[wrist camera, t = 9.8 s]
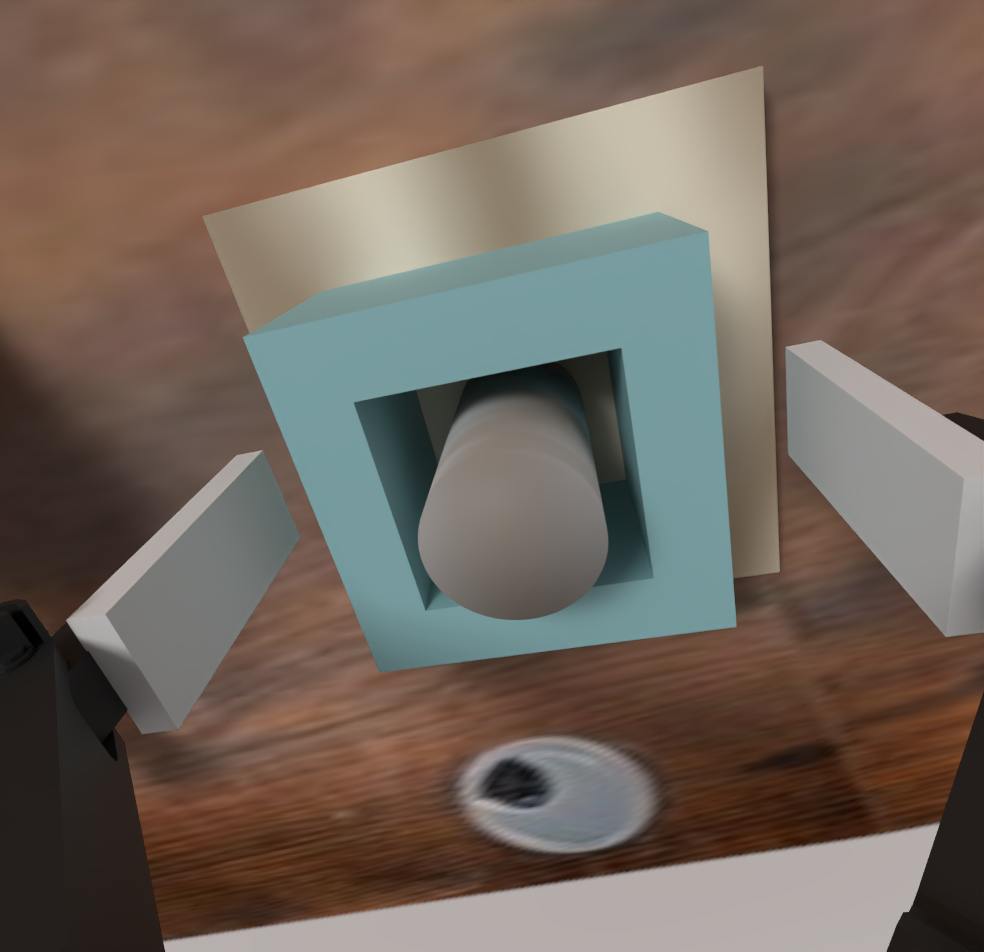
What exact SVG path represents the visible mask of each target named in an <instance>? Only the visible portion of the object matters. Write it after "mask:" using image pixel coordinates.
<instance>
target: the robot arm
mask: <svg viewBox="0 0 984 952" xmlns="http://www.w3.org/2000/svg"><path fill="white" fill-rule="evenodd" d="M785 348H786V390H787V432H788V455H789V456H790V457H791V458H792V459H793V461H794V462H795V463H796V464H797V465H798V466H799V468H800V469H801V470H802V471H803V472H804V473H805V474H806V476H807V477H808V478H809V479H810V480H811V481H812V483H813V484H814V485H815V486H816V487H817V488H818V490H819V491H820V492H821V493H822V494H823V495H824V496H825V498H826V499H827V500H828V501H829V502H830V503H831V505H832V506H833V507H834V508H835V509H836V510H837V512H838V513H839V514H840V515H841V516H842V517H843V518H844V520H845V521H846V522H847V523H848V524H849V525H850V527H851V528H852V529H853V530H854V531H855V532H856V533H857V535H858V536H859V537H860V538H861V539H862V540H863V542H864V543H865V544H866V545H867V546H868V547H869V549H870V550H871V551H872V552H873V553H874V554H875V555H876V557H877V558H878V559H879V560H880V561H881V562H882V564H883V565H884V566H885V567H886V568H887V569H888V571H889V572H890V573H891V574H892V575H893V576H894V577H895V579H896V580H897V581H898V582H899V583H900V584H901V586H902V587H903V588H904V589H905V590H906V591H907V593H908V594H909V595H910V596H911V597H912V598H913V599H914V601H915V602H916V603H917V604H918V605H919V606H920V608H921V609H922V610H923V611H924V612H925V613H926V614H927V616H928V617H929V618H930V619H931V620H932V621H933V623H934V624H935V625H936V626H937V627H938V628H939V630H940V631H941V632H942V633H943V634H944V635H945V636H946V637H950V636H958V635H967V634H975V633H983V632H984V420H983V419H980V418H976V417H972V416H969V415H965V414H961V413H958V412H956V413H951V414H945V415H941V414H939V413H937V412H936V411H934V410H933V409H931V408H929V407H928V406H926V405H925V404H923V403H921V402H920V401H918V400H917V399H915V398H913V397H912V396H910V395H908V394H907V393H905V392H904V391H902V390H900V389H899V388H897V387H896V386H894V385H892V384H891V383H889V382H888V381H886V380H884V379H883V378H881V377H879V376H878V375H876V374H875V373H873V372H871V371H870V370H868V369H867V368H865V367H863V366H862V365H860V364H859V363H857V362H855V361H854V360H852V359H850V358H849V357H847V356H846V355H844V354H842V353H841V352H839V351H838V350H836V349H834V348H833V347H831V346H830V345H828V344H826V343H825V342H823V341H821V340H819V341H814V342H809V343H804V344H799V345H793V346H788V347H785ZM299 539H300V535H299V533H298V531H297V528H296V526H295V524H294V521H293V519H292V517H291V514H290V512H289V510H288V507H287V505H286V503H285V500H284V498H283V496H282V493H281V491H280V489H279V487H278V484H277V482H276V480H275V477H274V475H273V473H272V470H271V468H270V466H269V463H268V461H267V459H266V456H265V454H264V452H263V450H261V451H256V452H251V453H246V454H241V455H236V456H235V457H234V458H233V459H232V460H231V461H230V462H229V463H228V464H227V465H226V466H225V467H224V468H223V469H222V470H221V471H220V472H219V473H218V474H217V475H216V476H215V477H214V478H213V479H212V480H211V481H210V482H209V483H207V484H206V485H205V486H204V487H203V488H202V489H201V490H200V491H199V492H198V493H197V494H196V495H195V496H194V497H193V498H192V499H191V500H190V501H189V502H188V503H187V504H186V505H185V506H184V507H183V508H182V509H181V510H180V511H179V512H177V513H176V514H175V515H174V516H173V517H172V518H171V519H170V520H169V521H168V522H167V523H166V524H165V525H164V526H163V527H162V528H161V529H160V530H159V531H158V532H157V533H156V534H155V535H154V536H153V537H152V538H151V539H150V540H149V541H147V542H146V543H145V544H144V545H143V546H142V547H141V548H140V549H139V550H138V551H137V552H136V553H135V554H134V555H133V556H132V557H131V558H130V559H129V560H128V561H127V562H126V563H125V564H124V565H123V566H122V567H121V568H120V569H119V570H118V571H116V572H115V573H114V574H113V575H112V576H111V577H110V578H109V579H108V580H107V581H106V582H105V583H104V584H103V585H102V586H101V587H100V588H99V589H98V590H97V591H96V592H95V593H94V594H93V595H92V596H91V597H90V598H89V599H88V600H86V601H85V602H84V603H83V604H82V605H81V606H80V607H79V608H78V609H77V610H76V611H75V612H74V613H73V614H72V615H71V616H70V617H69V618H68V619H67V620H66V622H67V623H66V624H65V625H63V626H62V627H61V628H60V629H59V630H58V631H57V632H56V633H55V634H54V635H53V636H52V637H51V636H50V635H49V633H48V632H47V630H46V629H45V627H44V626H43V625H42V623H41V622H40V620H39V619H38V617H37V616H36V615H35V613H34V612H33V610H32V609H31V607H30V606H29V605H28V603H27V602H26V600H18V599H16V600H12V601H7V602H3V603H0V952H165V949H164V944H163V939H162V934H161V928H160V923H159V918H158V913H157V908H156V903H155V898H154V892H153V887H152V882H151V877H150V872H149V867H148V862H147V856H146V851H145V846H144V841H143V836H142V831H141V825H140V820H139V815H138V810H137V805H136V800H135V795H134V789H133V784H132V779H131V774H130V769H129V764H128V758H127V753H126V748H125V743H124V741H123V740H122V738H121V737H120V735H119V734H118V732H117V731H116V730H115V728H114V727H115V726H116V725H117V723H118V722H119V721H120V719H121V718H122V717H123V715H124V714H125V713H126V711H127V712H128V714H129V715H130V717H131V718H132V720H133V721H134V723H135V724H136V726H137V727H138V729H139V730H140V732H141V733H142V734H147V733H156V732H164V731H172V730H179V728H180V726H181V725H182V723H183V722H184V720H185V718H186V717H187V715H188V714H189V712H190V711H191V709H192V707H193V706H194V704H195V703H196V701H197V700H198V698H199V696H200V695H201V693H202V692H203V690H204V689H205V687H206V685H207V684H208V682H209V681H210V679H211V678H212V676H213V674H214V673H215V671H216V670H217V668H218V667H219V665H220V663H221V662H222V660H223V659H224V657H225V656H226V654H227V652H228V651H229V649H230V648H231V646H232V644H233V643H234V641H235V640H236V638H237V637H238V635H239V633H240V632H241V630H242V629H243V627H244V626H245V624H246V622H247V621H248V619H249V618H250V616H251V615H252V613H253V611H254V610H255V608H256V607H257V605H258V604H259V602H260V600H261V599H262V597H263V596H264V594H265V593H266V591H267V589H268V588H269V586H270V585H271V583H272V582H273V580H274V578H275V577H276V575H277V574H278V572H279V571H280V569H281V567H282V566H283V564H284V563H285V561H286V559H287V558H288V556H289V555H290V553H291V552H292V550H293V548H294V547H295V545H296V544H297V542H298V541H299ZM887 952H984V692H983V695H982V698H981V702H980V705H979V708H978V711H977V714H976V717H975V720H974V723H973V726H972V729H971V732H970V735H969V738H968V741H967V744H966V747H965V750H964V753H963V756H962V759H961V762H960V765H959V768H958V771H957V774H956V777H955V780H954V783H953V786H952V789H951V792H950V795H949V798H948V801H947V804H946V807H945V810H944V813H943V816H942V819H941V822H940V825H939V828H938V831H937V835H936V837H935V840H934V843H933V847H932V849H931V852H930V855H929V858H928V861H927V864H926V867H925V870H924V873H923V876H922V880H921V882H920V886H919V889H918V891H917V894H916V897H915V900H914V902H913V905H912V907H911V909H910V911H909V912H903V914H902V916H901V918H900V920H899V922H898V924H897V926H896V928H895V931H894V934H893V936H892V939H891V942H890V944H889V947H888V949H887Z"/></svg>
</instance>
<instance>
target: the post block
mask: <svg viewBox="0 0 984 952" xmlns="http://www.w3.org/2000/svg"><path fill="white" fill-rule="evenodd" d="M655 212H661V213H663V214H666V215H668V216H671V217H673V218H676V219H678V220H681V221H684V222H686V223H689V224H691V225H694V226H696V227H699V228H701V229H704V230H707V231H708V234H709V248H710V262H711V276H712V290H713V304H714V318H715V332H716V346H717V360H718V374H719V388H720V402H721V416H722V430H723V444H724V458H725V472H726V486H727V500H728V514H729V528H730V542H731V556H732V570H733V578H741V577H748V576H755V575H762V574H769V573H776V572H780V563H779V533H778V503H777V473H776V443H775V413H774V383H773V353H772V323H771V293H770V263H769V233H768V203H767V173H766V143H765V113H764V83H763V66H760V67H756V68H752V69H749V70H745V71H741V72H737V73H734V74H730V75H726V76H723V77H719V78H715V79H711V80H708V81H704V82H700V83H696V84H693V85H689V86H685V87H682V88H678V89H674V90H670V91H667V92H663V93H659V94H656V95H652V96H648V97H644V98H641V99H637V100H633V101H629V102H626V103H622V104H618V105H615V106H611V107H607V108H603V109H600V110H596V111H592V112H589V113H585V114H581V115H577V116H574V117H570V118H566V119H562V120H559V121H555V122H551V123H548V124H544V125H540V126H536V127H533V128H529V129H525V130H521V131H518V132H514V133H510V134H507V135H503V136H499V137H495V138H492V139H488V140H484V141H481V142H477V143H473V144H469V145H466V146H462V147H458V148H454V149H451V150H447V151H443V152H440V153H436V154H432V155H428V156H425V157H421V158H417V159H413V160H410V161H406V162H402V163H399V164H395V165H391V166H387V167H384V168H380V169H376V170H373V171H369V172H365V173H361V174H358V175H354V176H350V177H346V178H343V179H339V180H335V181H332V182H328V183H324V184H320V185H317V186H313V187H309V188H305V189H302V190H298V191H294V192H291V193H287V194H283V195H279V196H276V197H272V198H268V199H265V200H261V201H257V202H253V203H250V204H246V205H242V206H238V207H235V208H231V209H227V210H224V211H220V212H216V213H212V214H209V215H205V216H202V217H203V219H204V222H205V224H206V227H207V229H208V232H209V234H210V237H211V239H212V242H213V244H214V247H215V249H216V252H217V254H218V257H219V259H220V261H221V264H222V266H223V269H224V271H225V274H226V276H227V279H228V281H229V284H230V286H231V289H232V291H233V294H234V296H235V299H236V301H237V304H238V306H239V308H240V311H241V313H242V316H243V318H244V321H245V323H246V326H247V328H248V331H249V333H251V332H253V331H255V330H257V329H258V328H260V327H262V326H263V325H265V324H267V323H269V322H270V321H272V320H274V319H275V318H277V317H279V316H280V315H282V314H284V313H286V312H287V311H289V310H291V309H292V308H294V307H296V306H297V305H299V304H301V303H303V302H304V301H306V300H308V299H309V298H311V297H313V296H315V295H316V294H318V293H320V292H321V291H325V290H330V289H334V288H338V287H342V286H346V285H351V284H355V283H359V282H363V281H368V280H372V279H376V278H380V277H385V276H389V275H393V274H397V273H401V272H406V271H410V270H414V269H418V268H423V267H427V266H431V265H435V264H440V263H444V262H448V261H452V260H456V259H461V258H465V257H469V256H473V255H478V254H482V253H486V252H490V251H495V250H499V249H503V248H507V247H511V246H516V245H520V244H524V243H528V242H533V241H537V240H541V239H545V238H550V237H554V236H558V235H562V234H566V233H571V232H575V231H579V230H583V229H588V228H592V227H596V226H600V225H605V224H609V223H613V222H617V221H621V220H626V219H630V218H634V217H638V216H643V215H647V214H651V213H655ZM416 392H417V395H418V399H419V402H420V405H421V409H422V412H423V416H424V419H425V422H426V426H427V429H428V432H429V436H430V439H431V442H432V446H433V449H434V453H435V456H436V459H437V463H438V467H437V470H436V473H435V476H434V479H433V482H432V485H431V488H430V491H429V494H428V497H427V500H426V503H425V506H424V509H423V512H422V515H421V518H420V523H419V528H418V546H419V552H420V556H421V560H422V562H423V565H424V567H425V569H426V571H427V573H428V575H429V576H430V578H431V579H432V581H433V582H434V583H435V584H436V586H437V587H438V588H439V589H440V590H441V591H442V592H443V593H444V594H445V595H446V596H448V597H449V598H450V599H451V600H453V601H454V602H456V603H457V604H459V605H461V606H462V607H464V608H466V609H468V610H470V611H472V612H475V613H478V614H481V615H484V616H487V617H492V618H496V619H504V620H528V619H535V618H540V617H544V616H547V615H551V614H554V613H556V612H558V611H561V610H563V609H565V608H567V607H568V606H570V605H572V604H573V603H575V602H576V601H577V600H579V599H580V598H581V597H583V596H584V595H585V594H586V593H587V592H588V591H589V590H590V588H591V587H592V586H593V585H594V583H595V582H596V581H597V579H598V577H599V575H600V574H601V572H602V569H603V567H604V564H605V562H606V557H607V553H608V531H607V526H606V520H605V515H604V510H603V504H602V499H601V494H600V489H599V484H602V483H608V482H614V481H619V480H625V479H626V476H625V469H624V463H623V456H622V449H621V443H620V436H619V430H618V423H617V416H616V410H615V403H614V396H613V390H612V383H611V376H610V370H609V363H608V357H607V351H603V352H598V353H594V354H589V355H584V356H579V357H574V358H569V359H564V360H559V361H554V362H549V363H544V364H540V365H535V366H530V367H525V368H520V369H515V370H510V371H505V372H500V373H495V374H490V375H486V376H481V377H476V378H471V379H466V380H461V381H456V382H451V383H446V384H441V385H436V386H432V387H427V388H422V389H417V390H416Z"/></svg>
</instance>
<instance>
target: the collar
mask: <svg viewBox="0 0 984 952" xmlns="http://www.w3.org/2000/svg"><path fill="white" fill-rule="evenodd" d="M243 339H244V342H245V344H246V347H247V349H248V351H249V354H250V356H251V359H252V361H253V364H254V366H255V369H256V371H257V373H258V376H259V378H260V381H261V383H262V386H263V388H264V391H265V393H266V395H267V398H268V400H269V403H270V405H271V408H272V410H273V413H274V415H275V417H276V420H277V422H278V425H279V427H280V430H281V432H282V435H283V437H284V440H285V442H286V444H287V447H288V449H289V452H290V454H291V457H292V459H293V462H294V464H295V466H296V469H297V471H298V474H299V476H300V479H301V481H302V484H303V486H304V488H305V491H306V493H307V496H308V498H309V501H310V503H311V506H312V508H313V510H314V513H315V515H316V518H317V520H318V523H319V525H320V528H321V530H322V532H323V535H324V537H325V540H326V542H327V545H328V547H329V550H330V552H331V555H332V557H333V559H334V562H335V564H336V567H337V569H338V572H339V574H340V577H341V579H342V581H343V584H344V586H345V589H346V591H347V594H348V596H349V599H350V601H351V603H352V606H353V608H354V611H355V613H356V616H357V618H358V621H359V623H360V625H361V628H362V630H363V633H364V635H365V638H366V640H367V643H368V645H369V648H370V650H371V652H372V655H373V657H374V660H375V662H376V665H377V667H378V670H379V672H388V671H396V670H403V669H411V668H419V667H427V666H435V665H442V664H450V663H458V662H466V661H474V660H482V659H489V658H497V657H505V656H513V655H521V654H528V653H536V652H544V651H552V650H560V649H567V648H575V647H583V646H591V645H599V644H606V643H614V642H622V641H630V640H638V639H646V638H653V637H661V636H669V635H677V634H685V633H692V632H700V631H708V630H716V629H724V628H731V627H737V626H736V612H735V598H734V584H733V570H732V556H731V542H730V528H729V514H728V500H727V486H726V472H725V458H724V444H723V430H722V416H721V402H720V388H719V374H718V360H717V346H716V332H715V318H714V304H713V290H712V276H711V262H710V248H709V234H708V231H707V230H704V229H701V228H699V227H696V226H694V225H691V224H689V223H686V222H684V221H681V220H678V219H676V218H673V217H671V216H668V215H666V214H663V213H661V212H655V213H651V214H647V215H643V216H638V217H634V218H630V219H626V220H621V221H617V222H613V223H609V224H605V225H600V226H596V227H592V228H588V229H583V230H579V231H575V232H571V233H566V234H562V235H558V236H554V237H550V238H545V239H541V240H537V241H533V242H528V243H524V244H520V245H516V246H511V247H507V248H503V249H499V250H495V251H490V252H486V253H482V254H478V255H473V256H469V257H465V258H461V259H456V260H452V261H448V262H444V263H440V264H435V265H431V266H427V267H423V268H418V269H414V270H410V271H406V272H401V273H397V274H393V275H389V276H385V277H380V278H376V279H372V280H368V281H363V282H359V283H355V284H351V285H346V286H342V287H338V288H334V289H330V290H325V291H321V292H320V293H318V294H316V295H315V296H313V297H311V298H309V299H308V300H306V301H304V302H303V303H301V304H299V305H297V306H296V307H294V308H292V309H291V310H289V311H287V312H286V313H284V314H282V315H280V316H279V317H277V318H275V319H274V320H272V321H270V322H269V323H267V324H265V325H263V326H262V327H260V328H258V329H257V330H255V331H253V332H251V333H250V334H248V335H246V336H245V337H243ZM603 351H607V357H608V363H609V370H610V376H611V383H612V390H613V396H614V403H615V410H616V416H617V423H618V430H619V436H620V443H621V449H622V456H623V463H624V469H625V476H626V479H625V480H619V481H614V482H608V483H602V484H599V489H600V494H601V499H602V504H603V510H604V515H605V520H606V526H607V531H608V553H607V557H606V562H605V564H604V567H603V569H602V572H601V574H600V575H599V577H598V579H597V581H596V582H595V583H594V585H593V586H592V587H591V588H590V590H589V591H588V592H587V593H586V594H585V595H584V596H583V597H581V598H580V599H579V600H577V601H576V602H575V603H573V604H572V605H570V606H568V607H567V608H565V609H563V610H561V611H558V612H556V613H554V614H551V615H547V616H544V617H540V618H535V619H528V620H504V619H496V618H492V617H487V616H484V615H481V614H478V613H475V612H472V611H470V610H468V609H466V608H464V607H462V606H461V605H459V604H457V603H456V602H454V601H453V600H451V599H450V598H449V597H448V596H446V595H445V594H444V593H443V592H442V591H441V590H440V589H439V588H438V587H437V586H436V584H435V583H434V582H433V581H432V579H431V578H430V576H429V575H428V573H427V571H426V569H425V567H424V565H423V562H422V560H421V556H420V552H419V546H418V528H419V523H420V518H421V515H422V512H423V509H424V506H425V503H426V500H427V497H428V494H429V491H430V488H431V485H432V482H433V479H434V476H435V473H436V470H437V467H438V463H437V459H436V456H435V453H434V449H433V446H432V442H431V439H430V436H429V432H428V429H427V426H426V422H425V419H424V416H423V412H422V409H421V405H420V402H419V399H418V395H417V392H416V390H417V389H422V388H427V387H432V386H436V385H441V384H446V383H451V382H456V381H461V380H466V379H471V378H476V377H481V376H486V375H490V374H495V373H500V372H505V371H510V370H515V369H520V368H525V367H530V366H535V365H540V364H544V363H549V362H554V361H559V360H564V359H569V358H574V357H579V356H584V355H589V354H594V353H598V352H603Z"/></svg>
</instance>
